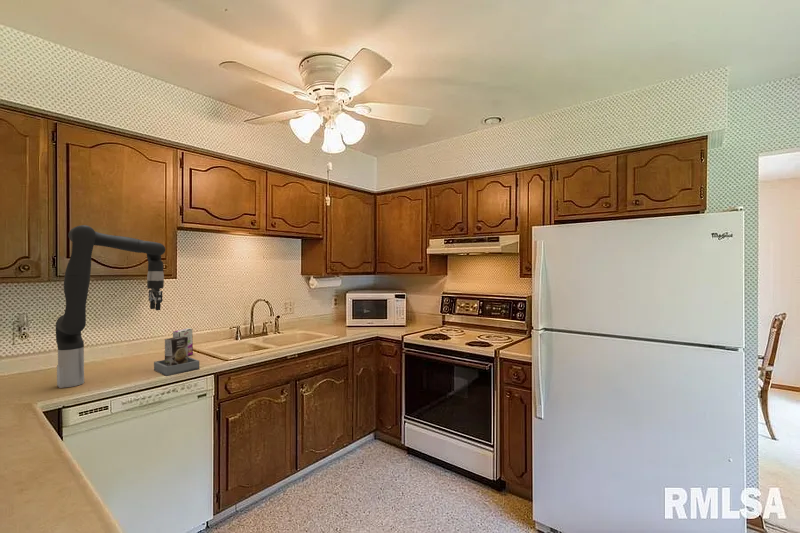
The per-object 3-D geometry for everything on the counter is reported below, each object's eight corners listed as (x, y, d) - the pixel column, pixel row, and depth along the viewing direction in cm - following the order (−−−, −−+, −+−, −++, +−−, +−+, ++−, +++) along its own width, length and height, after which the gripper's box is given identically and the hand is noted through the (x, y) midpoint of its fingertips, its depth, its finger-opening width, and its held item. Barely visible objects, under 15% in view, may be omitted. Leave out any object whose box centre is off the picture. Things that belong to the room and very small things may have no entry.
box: (166, 376, 189) (166, 367, 189) (153, 370, 200) (153, 361, 200) (199, 369, 202) (199, 360, 201) (186, 363, 212) (186, 355, 212)
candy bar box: (186, 354, 235) (185, 328, 235) (193, 354, 234) (192, 328, 234) (172, 358, 224) (172, 331, 224) (180, 359, 223) (179, 331, 223)
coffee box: (173, 370, 195) (172, 339, 195) (164, 369, 197) (163, 339, 197) (188, 366, 204) (188, 336, 203) (179, 365, 206) (179, 335, 206)
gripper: (143, 279, 205) (142, 309, 205) (152, 280, 196) (151, 311, 195) (158, 279, 210) (158, 308, 210) (168, 279, 201) (167, 310, 201)
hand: (155, 309), depth 203 cm, fingers open, 8 cm apart
